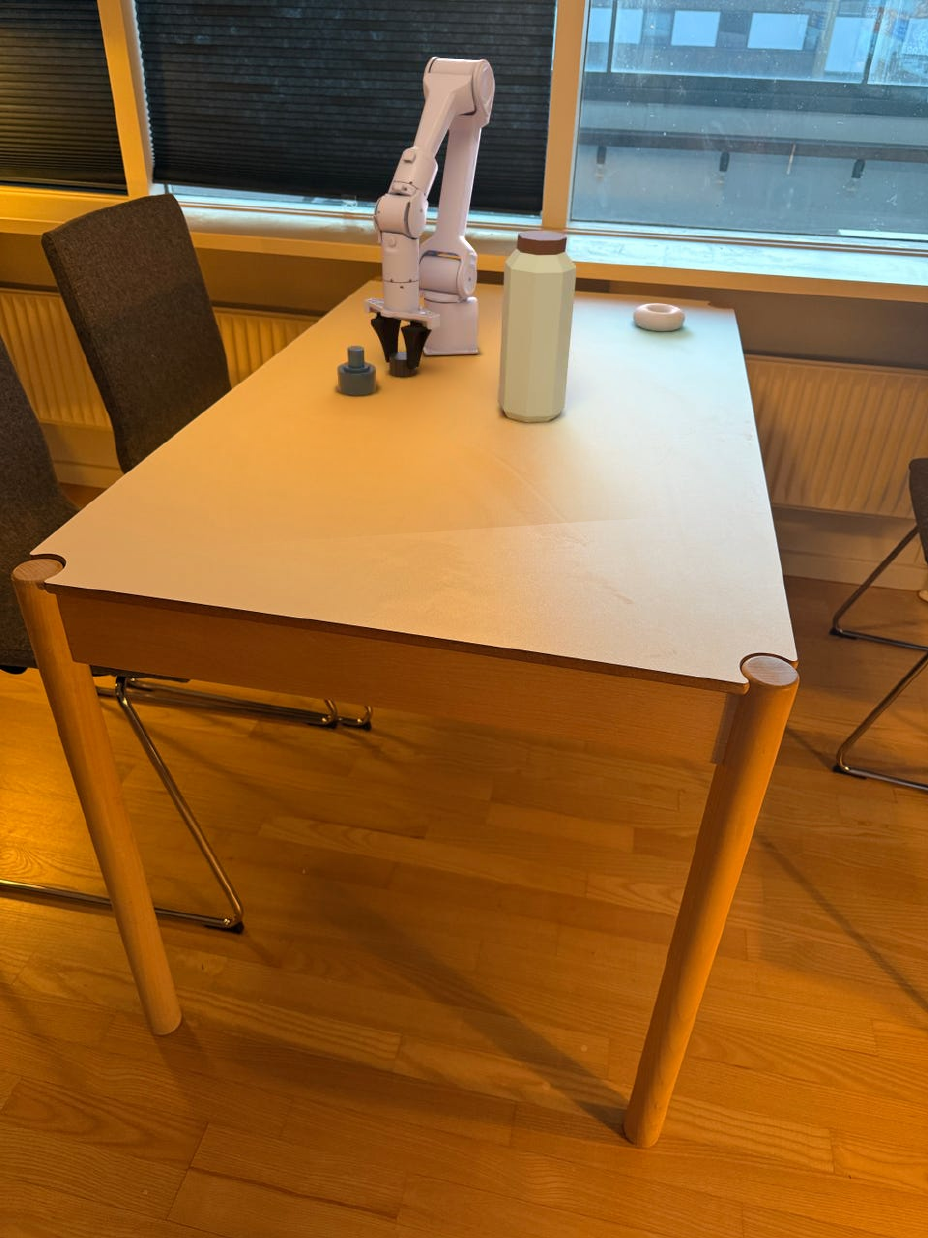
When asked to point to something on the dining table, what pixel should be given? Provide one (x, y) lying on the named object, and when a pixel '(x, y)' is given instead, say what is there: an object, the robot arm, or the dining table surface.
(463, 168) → the robot arm
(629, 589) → the dining table surface
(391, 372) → the cap
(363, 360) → the bottle
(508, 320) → the water bottle
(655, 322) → the donut
